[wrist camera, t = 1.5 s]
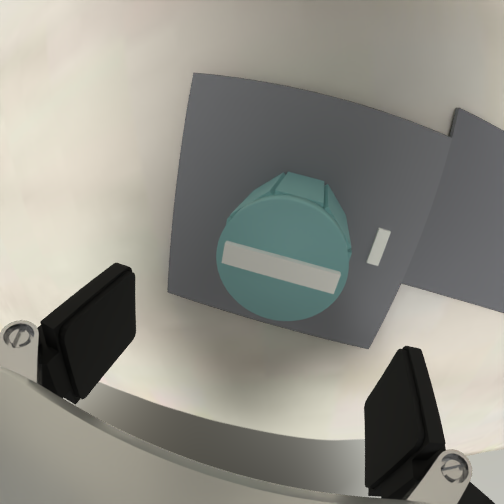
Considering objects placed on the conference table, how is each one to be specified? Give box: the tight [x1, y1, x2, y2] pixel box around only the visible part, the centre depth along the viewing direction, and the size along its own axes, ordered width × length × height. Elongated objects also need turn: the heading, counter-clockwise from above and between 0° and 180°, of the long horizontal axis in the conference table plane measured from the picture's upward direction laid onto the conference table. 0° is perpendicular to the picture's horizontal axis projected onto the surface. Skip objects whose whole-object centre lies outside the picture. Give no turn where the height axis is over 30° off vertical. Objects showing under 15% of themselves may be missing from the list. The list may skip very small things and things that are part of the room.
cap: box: [216, 172, 352, 321], centre depth 17 cm, size 6×6×6 cm
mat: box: [402, 108, 504, 313], centre depth 16 cm, size 12×12×1 cm
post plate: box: [168, 73, 452, 349], centre depth 18 cm, size 16×16×5 cm
